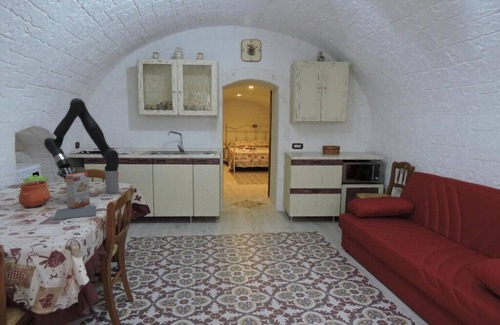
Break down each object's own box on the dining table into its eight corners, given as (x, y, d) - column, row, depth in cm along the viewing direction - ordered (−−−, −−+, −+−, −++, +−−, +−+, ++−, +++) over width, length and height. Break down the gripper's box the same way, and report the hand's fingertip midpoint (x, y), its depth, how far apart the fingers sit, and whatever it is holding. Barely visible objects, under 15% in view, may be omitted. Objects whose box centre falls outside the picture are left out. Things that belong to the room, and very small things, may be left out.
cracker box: (75, 208, 204) (73, 175, 202) (67, 208, 205) (65, 175, 203) (90, 203, 218) (88, 172, 216) (82, 203, 219) (80, 172, 217)
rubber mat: (57, 210, 203) (57, 209, 203) (96, 206, 212) (96, 205, 212) (52, 220, 183) (52, 219, 183) (96, 215, 192) (95, 214, 192)
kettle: (21, 191, 250) (20, 177, 248) (29, 187, 263) (27, 174, 262) (43, 190, 254) (42, 176, 252) (49, 186, 267) (48, 173, 265)
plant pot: (61, 189, 259) (60, 169, 257) (79, 185, 272) (78, 166, 269) (72, 191, 251) (70, 171, 249) (90, 188, 264) (89, 168, 262)
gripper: (53, 159, 212) (63, 180, 207) (73, 157, 223) (84, 177, 218) (50, 166, 216) (60, 187, 211) (70, 164, 227) (80, 184, 222)
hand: (72, 182), depth 214 cm, fingers closed
